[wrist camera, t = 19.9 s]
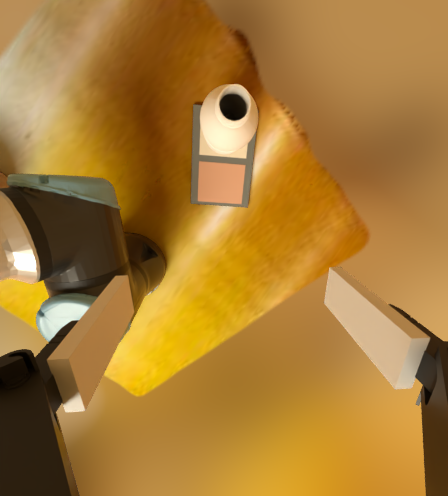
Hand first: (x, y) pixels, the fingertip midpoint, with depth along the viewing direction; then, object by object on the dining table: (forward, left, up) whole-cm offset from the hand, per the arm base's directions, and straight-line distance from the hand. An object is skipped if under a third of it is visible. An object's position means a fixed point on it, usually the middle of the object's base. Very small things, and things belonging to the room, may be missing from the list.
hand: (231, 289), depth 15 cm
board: (0, +8, -36) cm, 37 cm away
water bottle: (0, +13, -36) cm, 38 cm away
